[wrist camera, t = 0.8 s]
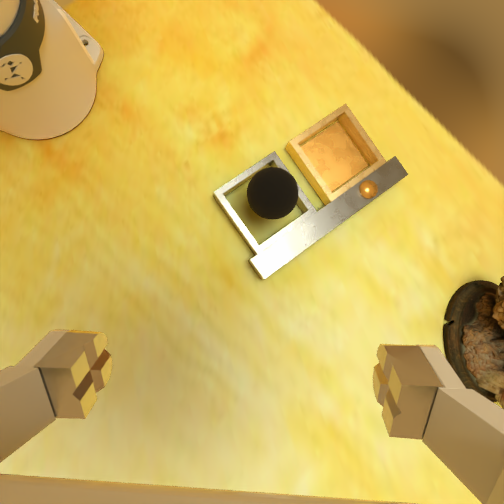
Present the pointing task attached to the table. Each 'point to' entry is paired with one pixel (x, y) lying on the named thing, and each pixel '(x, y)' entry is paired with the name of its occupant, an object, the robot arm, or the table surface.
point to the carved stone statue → (477, 337)
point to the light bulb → (272, 193)
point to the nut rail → (319, 186)
